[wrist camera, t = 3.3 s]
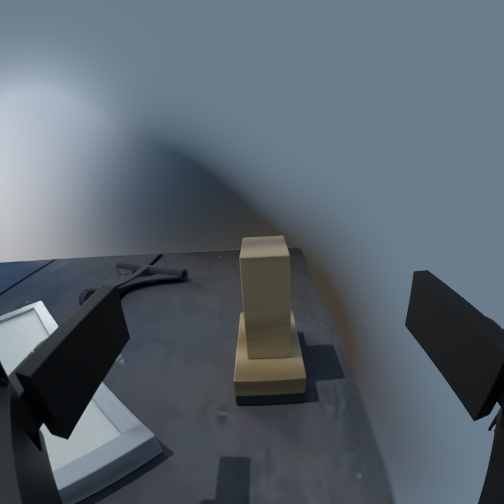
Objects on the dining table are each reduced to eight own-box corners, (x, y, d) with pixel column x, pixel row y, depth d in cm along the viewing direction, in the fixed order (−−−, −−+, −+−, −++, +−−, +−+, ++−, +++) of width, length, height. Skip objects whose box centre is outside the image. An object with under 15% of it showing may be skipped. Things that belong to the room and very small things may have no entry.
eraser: (305, 402, 20) (310, 268, 17) (236, 405, 20) (220, 272, 17) (292, 331, 29) (291, 227, 26) (242, 333, 29) (234, 230, 26)
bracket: (58, 302, 37) (53, 285, 36) (123, 269, 50) (120, 254, 49) (119, 325, 31) (113, 304, 31) (188, 279, 44) (186, 261, 44)
